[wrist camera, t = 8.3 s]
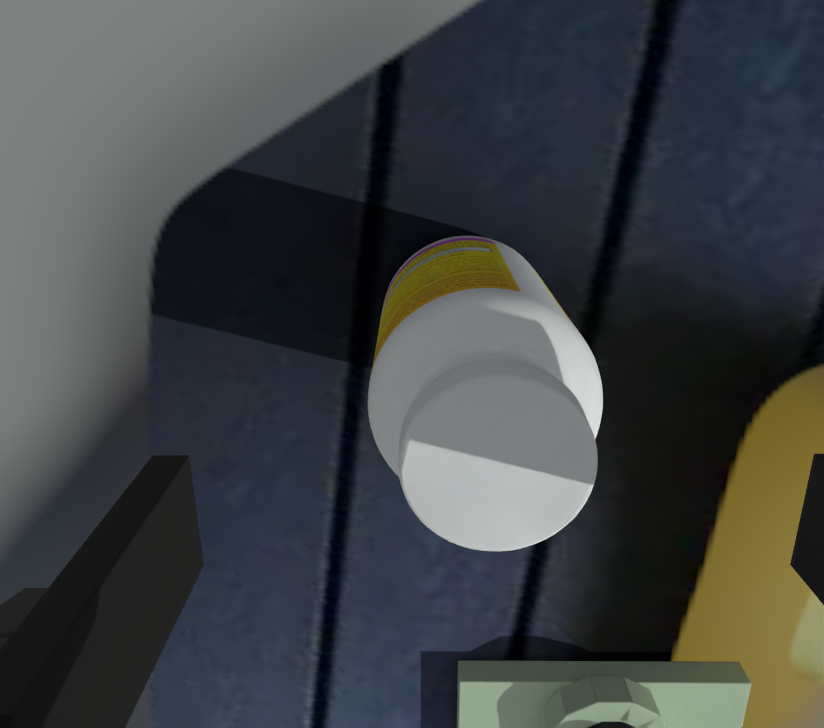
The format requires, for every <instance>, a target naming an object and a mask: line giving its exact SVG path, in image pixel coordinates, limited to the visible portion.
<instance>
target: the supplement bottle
mask: <svg viewBox="0 0 824 728" xmlns="http://www.w3.org/2000/svg"><path fill="white" fill-rule="evenodd" d="M602 408H603V393H602V383H601V378H600V373H599V370H598V366H597V364H596V361H595V358H594V356H593V354H592V352H591V350H590V348H589V346H588V345H587V343H586V341H585V340H584V338H583V337H582V335H581V334H580V333H579V331H578V330H577V328H576V327H575V326H574V325H573V323H572V322H571V320H570V319H569V318H568V316H567V315H566V314H565V312H564V311H563V309H562V308H561V306H560V305H559V304H558V302H557V301H556V299H555V298H554V297H553V295H552V294H551V292H550V291H549V289H548V288H547V286H546V285H545V284H544V282H543V281H542V279H541V278H540V277H539V275H538V274H537V272H536V271H535V270H534V268H533V267H532V266H531V265H530V264H529V263H528V262H527V261H526V260H525V259H524V258H523V257H522V256H521V255H520V254H519V253H517V252H516V251H515V250H513V249H512V248H510V247H508V246H506V245H504V244H502V243H500V242H498V241H495V240H492V239H489V238H484V237H479V236H455V237H449V238H445V239H442V240H439V241H436V242H434V243H432V244H429V245H427V246H425V247H424V248H422V249H421V250H419V251H418V252H416V253H415V254H413V255H412V256H411V257H410V258H409V259H408V260H407V261H406V262H405V263H404V264H403V265H402V266H401V267H400V269H399V270H398V272H397V273H396V275H395V276H394V278H393V279H392V281H391V283H390V285H389V287H388V290H387V293H386V296H385V299H384V304H383V309H382V314H381V319H380V326H379V332H378V338H377V344H376V350H375V355H374V361H373V366H372V372H371V377H370V384H369V393H368V413H369V420H370V425H371V429H372V432H373V436H374V439H375V442H376V444H377V446H378V448H379V450H380V452H381V454H382V456H383V457H384V459H385V460H386V462H387V463H388V465H389V466H390V467H391V469H392V470H393V471H394V472H395V473H396V474H397V476H398V477H399V478H400V482H401V486H402V489H403V493H404V495H405V497H406V500H407V502H408V504H409V506H410V507H411V509H412V510H413V512H414V513H415V514H416V516H417V517H418V518H419V519H420V520H421V522H422V523H424V524H425V525H426V526H427V527H428V528H429V529H430V530H432V531H433V532H434V533H436V534H437V535H439V536H440V537H442V538H444V539H446V540H447V541H449V542H452V543H454V544H457V545H460V546H462V547H466V548H470V549H475V550H483V551H509V550H515V549H520V548H524V547H527V546H530V545H533V544H536V543H538V542H541V541H543V540H545V539H547V538H549V537H551V536H552V535H554V534H556V533H557V532H558V531H560V530H561V529H562V528H564V527H565V526H566V525H567V524H568V523H570V522H571V521H572V520H573V519H574V518H575V517H576V515H577V514H578V513H579V511H580V510H581V509H582V507H583V506H584V504H585V503H586V501H587V499H588V497H589V495H590V493H591V491H592V488H593V486H594V482H595V478H596V473H597V447H596V442H595V438H596V435H597V432H598V429H599V425H600V421H601V416H602Z"/></svg>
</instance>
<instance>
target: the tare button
mask: <svg viewBox="0 0 824 728" xmlns="http://www.w3.org/2000/svg"><path fill="white" fill-rule="evenodd" d="M587 728H631V727H630V726H629V725H627V724H625V723H622V722H600V723H597V724H595V725H592V726H590V727H587Z"/></svg>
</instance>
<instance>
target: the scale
mask: <svg viewBox="0 0 824 728" xmlns="http://www.w3.org/2000/svg"><path fill="white" fill-rule="evenodd" d="M750 688H751V682H750V680H749V678H748V677H747V675H746V673H745V671H744V670H743V668H742V666H741V664H740V663H739V662H665V661H458V684H457V728H587V727H590V726H592V725H595V724H597V723H600V722H622V723H625V724H627V725H629V726H630V727H631V728H742V725H743V720H744V715H745V711H746V706H747V701H748V697H749V692H750Z"/></svg>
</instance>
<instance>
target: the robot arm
mask: <svg viewBox="0 0 824 728" xmlns="http://www.w3.org/2000/svg"><path fill="white" fill-rule="evenodd" d="M790 565H791V566H792V567H793V568H794V570H795V571H796V572H797V573H798V574H799V575H800V577H801V578H802V579H803V580H804V582H805V583H806V584H807V585H808V586H809V588H810V589H811V590H812V591H813V592H814V594H815V595H816V596H817V597H818V599H819V600H820V601H821V602H822V603H823V605H824V454H814V457H813V462H812V466H811V471H810V476H809V481H808V485H807V490H806V495H805V499H804V504H803V508H802V513H801V517H800V522H799V527H798V532H797V536H796V541H795V545H794V550H793V555H792V559H791V564H790ZM202 567H203V557H202V550H201V542H200V535H199V527H198V520H197V513H196V505H195V498H194V490H193V483H192V475H191V468H190V460H189V456H152V457H151V459H150V460H149V461H148V462H147V464H146V465H145V466H144V467H143V469H142V470H141V471H140V473H139V474H138V475H137V476H136V478H135V479H134V480H133V481H132V483H131V484H130V485H129V486H128V488H127V489H126V490H125V492H124V493H123V494H122V495H121V497H120V498H119V499H118V500H117V502H116V503H115V504H114V506H113V507H112V508H111V509H110V511H109V512H108V513H107V514H106V516H105V517H104V518H103V519H102V521H101V522H100V523H99V525H98V526H97V527H96V528H95V530H94V531H93V533H91V535H90V536H89V537H88V539H87V540H86V541H85V542H84V544H83V545H82V546H81V548H80V549H79V550H78V551H77V552H76V554H75V555H74V556H73V558H72V559H71V560H70V561H69V563H68V564H67V565H66V566H65V568H64V569H63V570H62V572H61V573H60V574H59V575H58V577H57V578H56V579H55V580H54V582H53V583H52V584H51V586H50V587H49V588H25V589H23V590H22V591H20V592H19V593H17V594H16V595H14V596H13V597H11V598H10V599H9V600H8V601H6V602H4V603H3V604H2V605H0V728H125V727H126V725H127V723H128V721H129V718H130V716H131V715H132V712H133V710H134V708H135V706H136V704H137V702H138V700H139V698H140V696H141V694H142V692H143V690H144V688H145V686H146V683H147V681H148V679H149V677H150V675H151V673H152V671H153V669H154V667H155V665H156V663H157V661H158V659H159V656H160V654H161V652H162V650H163V648H164V646H165V644H166V642H167V640H168V638H169V636H170V634H171V632H172V629H173V627H174V625H175V623H176V621H177V619H178V617H179V615H180V613H181V611H182V609H183V607H184V605H185V602H186V600H187V598H188V596H189V594H190V592H191V590H192V588H193V586H194V584H195V582H196V580H197V578H198V576H199V573H200V571H201V569H202Z"/></svg>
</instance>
